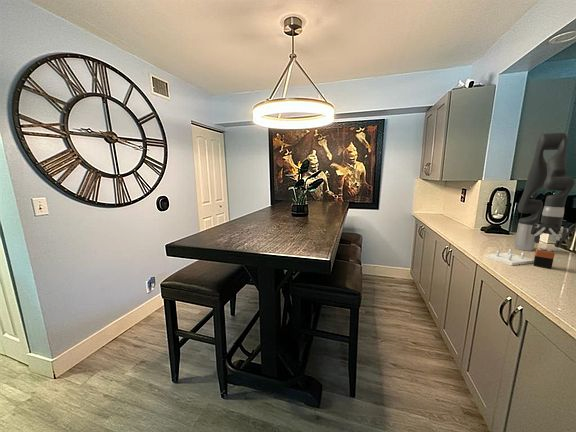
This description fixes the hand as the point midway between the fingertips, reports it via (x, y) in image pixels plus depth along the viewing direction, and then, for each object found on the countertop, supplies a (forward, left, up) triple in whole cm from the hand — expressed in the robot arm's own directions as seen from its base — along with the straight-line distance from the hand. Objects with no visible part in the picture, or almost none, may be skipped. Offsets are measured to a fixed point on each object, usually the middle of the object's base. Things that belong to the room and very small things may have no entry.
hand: (546, 245), depth 129 cm
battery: (0, 0, -12) cm, 12 cm away
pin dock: (+6, -12, -12) cm, 18 cm away
